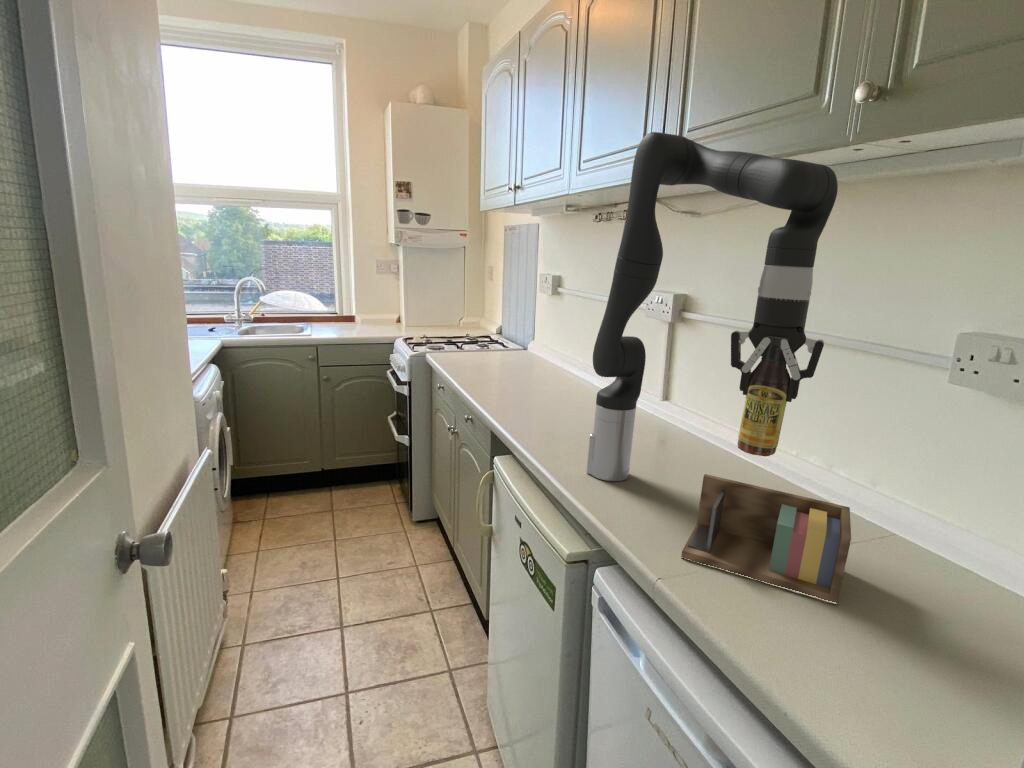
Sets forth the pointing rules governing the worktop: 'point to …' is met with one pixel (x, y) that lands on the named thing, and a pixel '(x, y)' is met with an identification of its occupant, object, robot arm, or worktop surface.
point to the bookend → (707, 536)
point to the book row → (805, 545)
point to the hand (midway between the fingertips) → (766, 397)
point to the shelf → (761, 533)
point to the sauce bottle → (765, 402)
